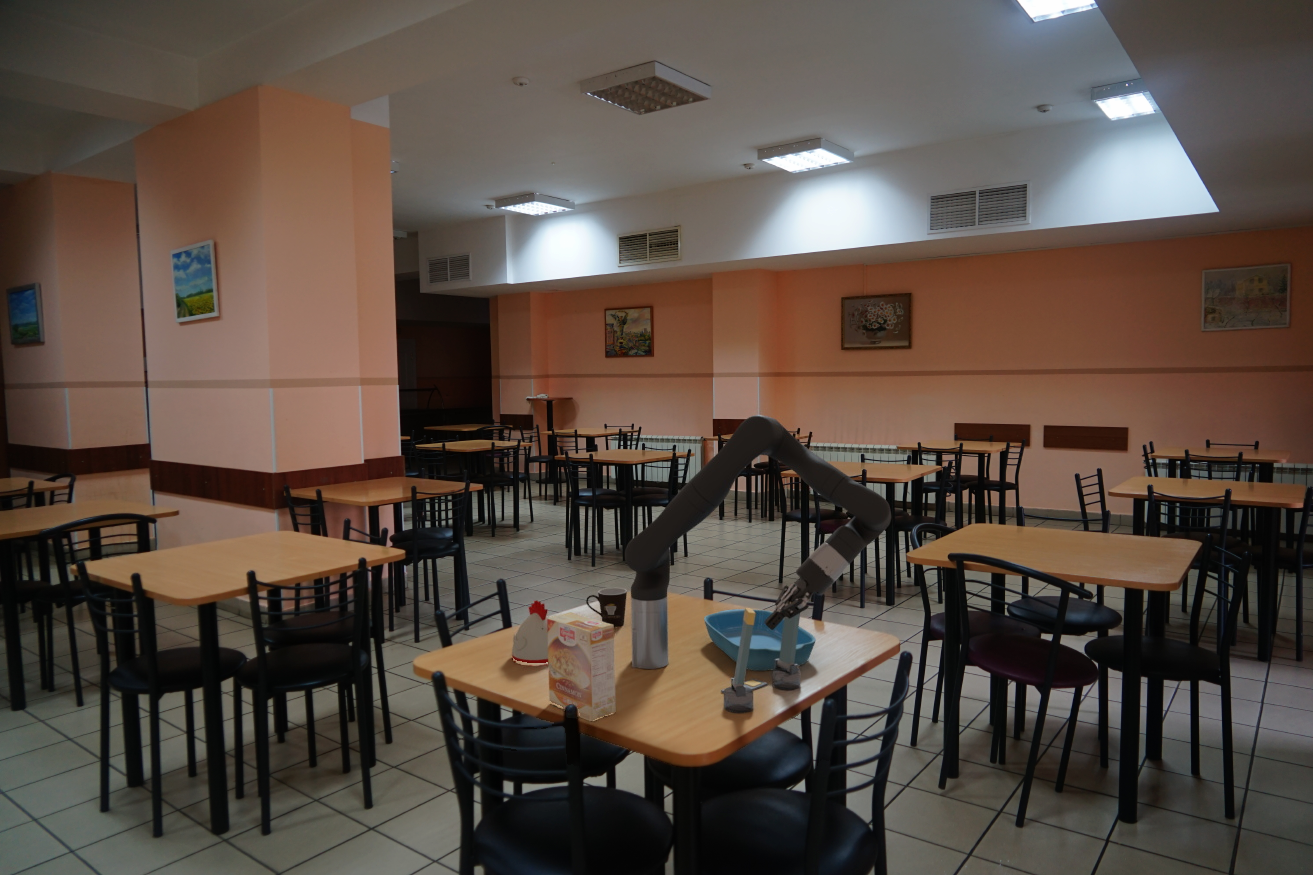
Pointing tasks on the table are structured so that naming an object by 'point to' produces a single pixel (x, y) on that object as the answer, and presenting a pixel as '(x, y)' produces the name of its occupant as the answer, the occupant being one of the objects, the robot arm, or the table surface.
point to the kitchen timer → (532, 636)
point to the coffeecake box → (581, 664)
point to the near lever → (744, 648)
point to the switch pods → (743, 695)
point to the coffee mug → (611, 605)
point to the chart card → (753, 684)
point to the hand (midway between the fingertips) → (767, 626)
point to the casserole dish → (755, 638)
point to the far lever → (789, 642)
